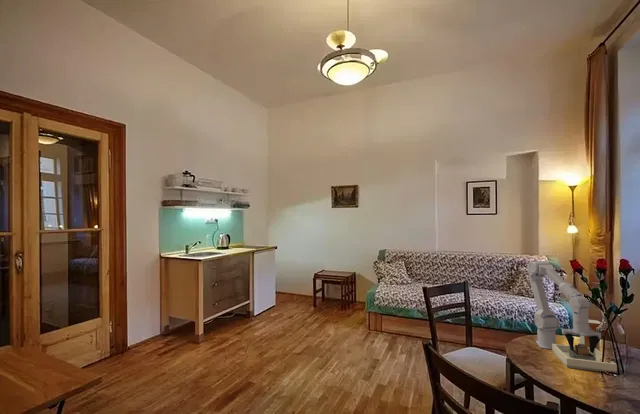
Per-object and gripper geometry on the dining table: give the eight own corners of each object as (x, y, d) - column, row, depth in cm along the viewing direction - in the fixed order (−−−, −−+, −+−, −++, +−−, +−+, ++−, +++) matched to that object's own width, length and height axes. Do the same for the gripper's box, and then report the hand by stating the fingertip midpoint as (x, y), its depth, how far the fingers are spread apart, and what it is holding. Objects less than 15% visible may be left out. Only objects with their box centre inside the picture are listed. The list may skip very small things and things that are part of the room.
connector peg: (575, 357, 150) (574, 342, 150) (585, 358, 148) (584, 343, 149) (578, 360, 146) (578, 345, 146) (589, 362, 145) (588, 346, 145)
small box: (584, 347, 164) (583, 322, 165) (579, 343, 170) (578, 318, 171) (604, 349, 161) (603, 323, 162) (598, 345, 167) (597, 320, 168)
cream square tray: (552, 351, 159) (552, 343, 159) (596, 356, 153) (596, 348, 153) (566, 367, 142) (566, 358, 142) (617, 373, 136) (616, 364, 136)
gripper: (565, 322, 147) (566, 352, 146) (604, 326, 142) (605, 356, 141) (559, 318, 153) (560, 346, 153) (596, 321, 149) (597, 350, 148)
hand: (581, 351), depth 148 cm, fingers open, 7 cm apart
